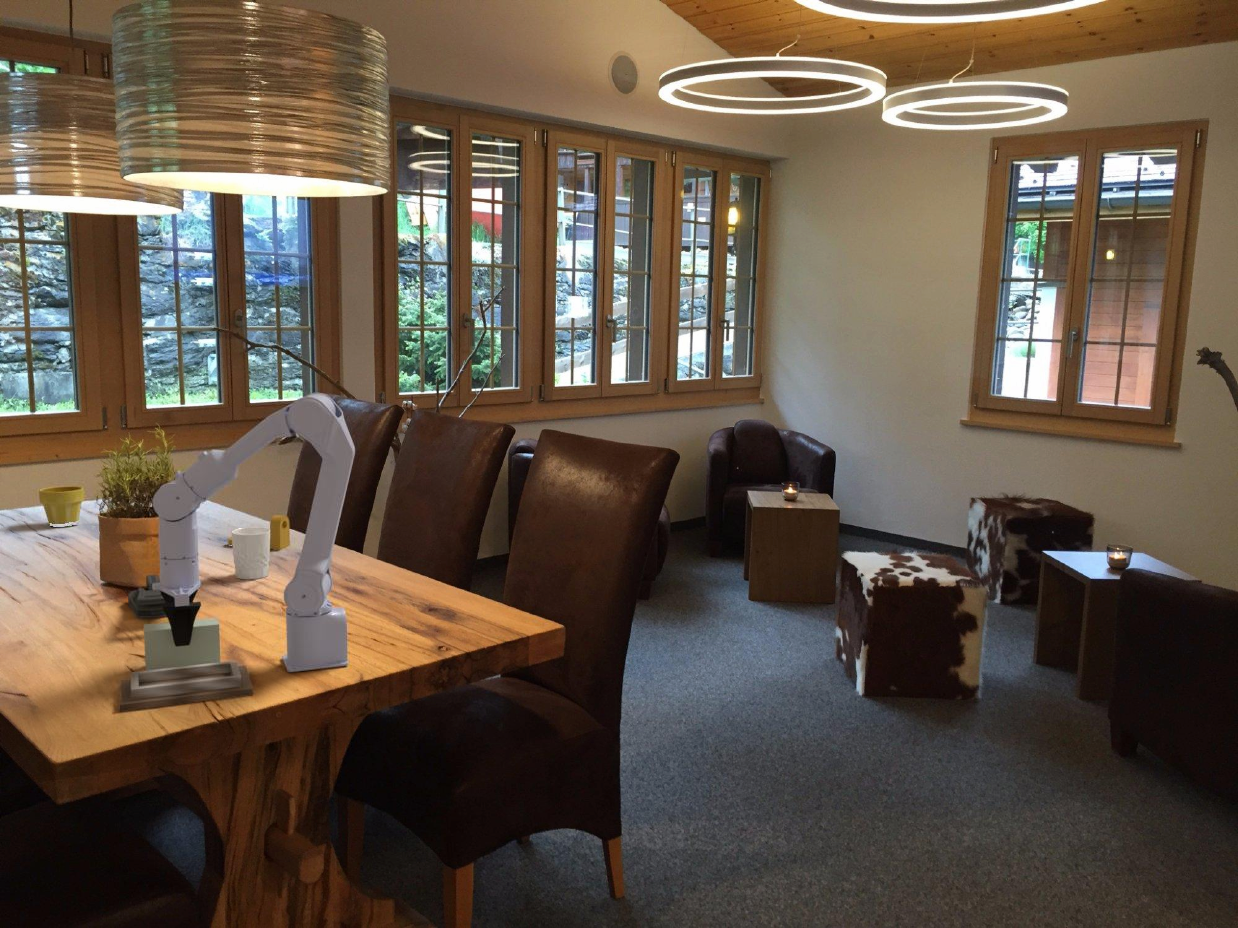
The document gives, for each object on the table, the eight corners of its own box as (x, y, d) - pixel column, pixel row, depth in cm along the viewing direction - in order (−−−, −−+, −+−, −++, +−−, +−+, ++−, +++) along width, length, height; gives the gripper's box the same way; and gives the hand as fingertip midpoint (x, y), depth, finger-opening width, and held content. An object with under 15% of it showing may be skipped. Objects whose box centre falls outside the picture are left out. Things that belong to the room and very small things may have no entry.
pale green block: (218, 658, 170) (217, 617, 169) (220, 666, 166) (219, 624, 165) (145, 666, 165) (143, 624, 164) (145, 674, 161) (144, 631, 160)
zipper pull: (132, 600, 178) (126, 568, 200) (134, 637, 179) (127, 601, 201) (188, 595, 183) (175, 564, 204) (189, 631, 184) (176, 596, 205)
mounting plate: (246, 671, 163) (245, 656, 163) (253, 694, 154) (252, 678, 153) (120, 686, 156) (120, 670, 155) (119, 711, 146) (119, 694, 146)
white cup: (279, 574, 224) (278, 529, 223) (251, 582, 217) (249, 536, 216) (253, 569, 228) (251, 525, 226) (224, 577, 221) (223, 531, 219)
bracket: (289, 547, 251) (289, 514, 249) (280, 551, 246) (279, 517, 245) (234, 543, 254) (233, 510, 252) (224, 547, 249) (223, 513, 248)
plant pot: (34, 525, 268) (32, 488, 267) (75, 519, 276) (73, 484, 275) (50, 531, 262) (48, 493, 260) (92, 525, 270) (90, 488, 268)
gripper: (150, 547, 168) (153, 628, 170) (152, 568, 155) (155, 654, 157) (197, 545, 171) (199, 623, 173) (202, 564, 158) (204, 649, 160)
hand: (181, 638), depth 165 cm, fingers open, 7 cm apart
